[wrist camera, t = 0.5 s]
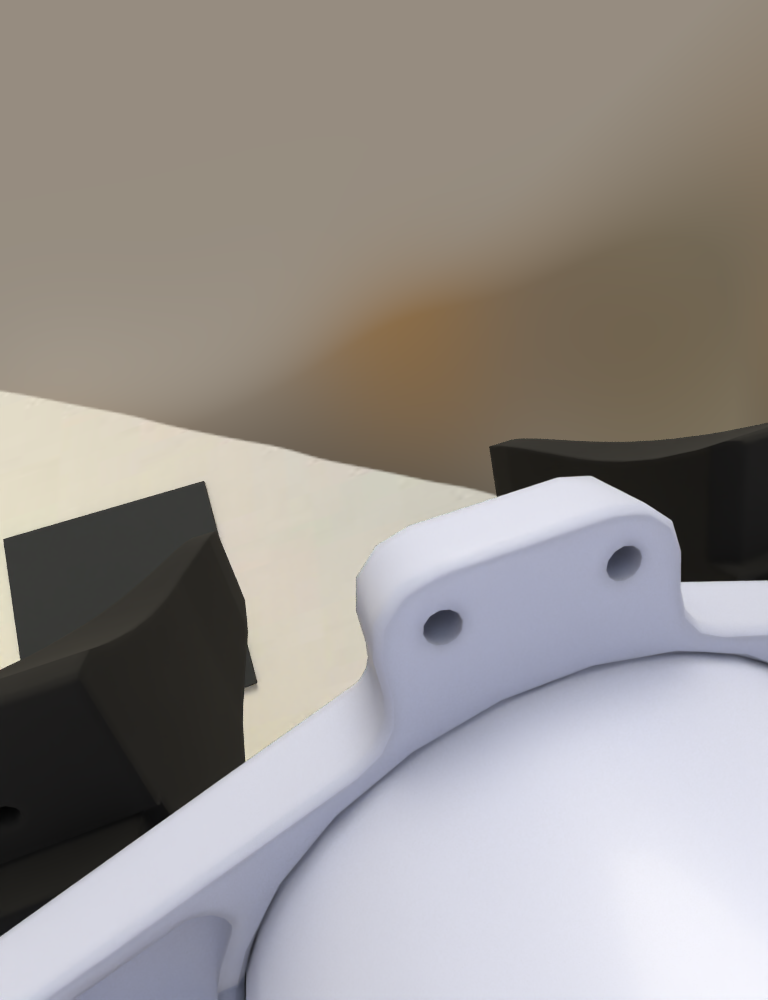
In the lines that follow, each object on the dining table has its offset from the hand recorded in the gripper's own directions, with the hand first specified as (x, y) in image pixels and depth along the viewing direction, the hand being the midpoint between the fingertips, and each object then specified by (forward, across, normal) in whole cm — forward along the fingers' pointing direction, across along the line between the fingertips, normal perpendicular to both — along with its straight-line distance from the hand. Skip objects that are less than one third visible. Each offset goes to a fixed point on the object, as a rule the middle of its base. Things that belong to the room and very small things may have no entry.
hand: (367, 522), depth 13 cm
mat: (+24, +16, +12) cm, 31 cm away
